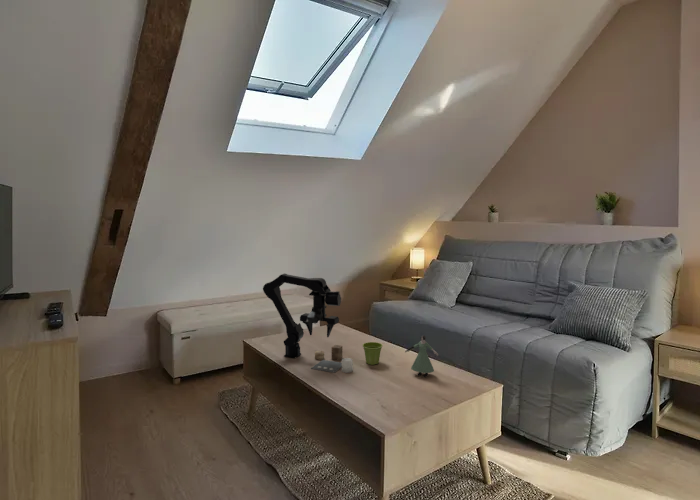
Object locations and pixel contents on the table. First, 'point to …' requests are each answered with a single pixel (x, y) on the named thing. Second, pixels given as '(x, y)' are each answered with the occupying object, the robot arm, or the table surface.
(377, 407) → the table surface
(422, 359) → the character figurine
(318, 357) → the beige round knob
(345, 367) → the white rounded block
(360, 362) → the table surface
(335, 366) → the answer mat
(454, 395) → the table surface
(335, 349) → the walnut block
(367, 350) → the plant pot
